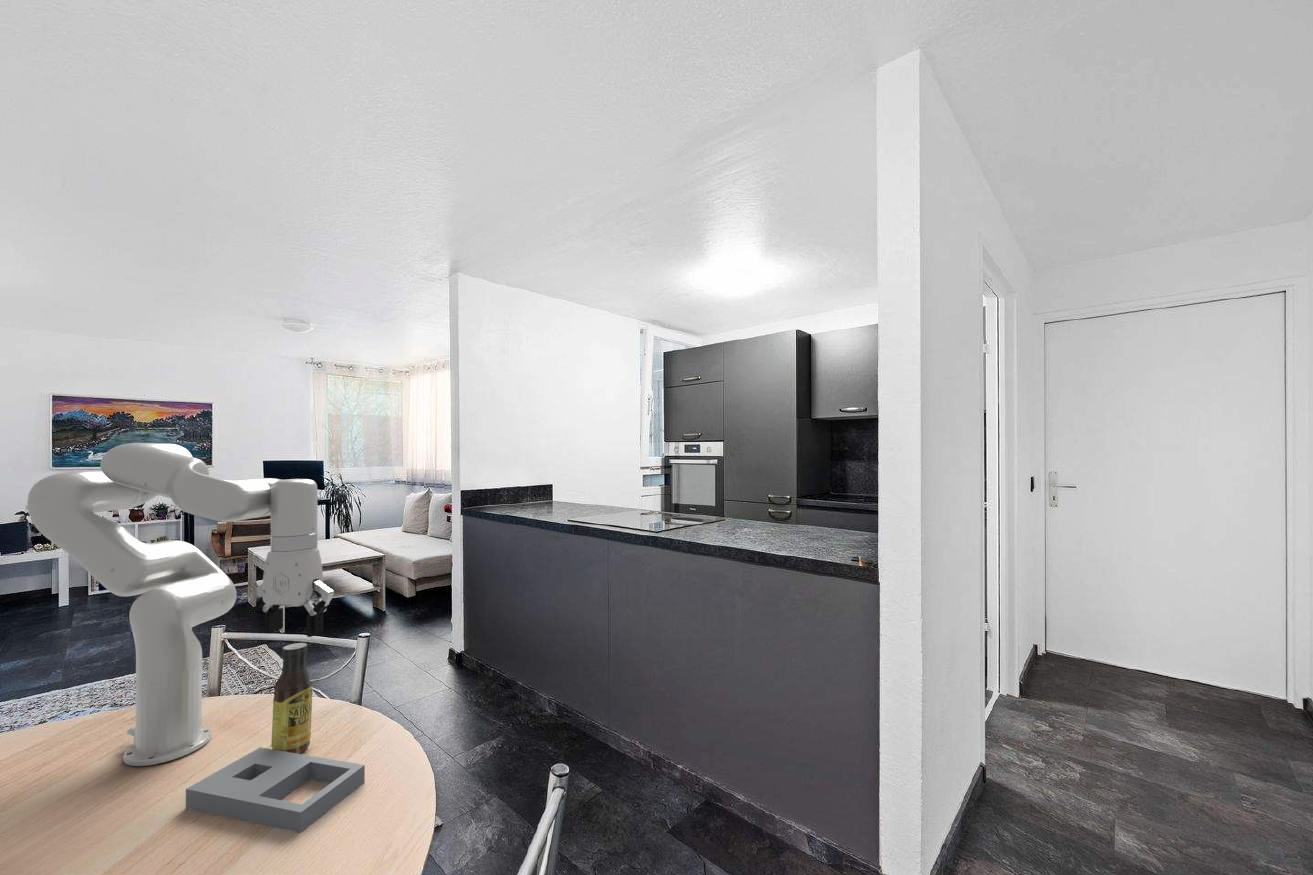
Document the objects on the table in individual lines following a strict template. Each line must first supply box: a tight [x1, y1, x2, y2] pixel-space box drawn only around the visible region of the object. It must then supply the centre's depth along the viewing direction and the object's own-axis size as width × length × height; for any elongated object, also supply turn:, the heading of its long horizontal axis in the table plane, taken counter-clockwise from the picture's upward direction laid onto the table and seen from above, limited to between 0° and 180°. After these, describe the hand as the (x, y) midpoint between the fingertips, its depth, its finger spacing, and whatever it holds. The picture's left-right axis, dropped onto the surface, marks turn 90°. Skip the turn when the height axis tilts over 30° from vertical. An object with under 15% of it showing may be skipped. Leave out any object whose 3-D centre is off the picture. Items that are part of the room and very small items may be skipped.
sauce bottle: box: [270, 642, 313, 754], centre depth 103 cm, size 7×6×20 cm
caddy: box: [185, 746, 366, 833], centre depth 90 cm, size 23×12×3 cm, turn 76°
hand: (294, 632), depth 104 cm, fingers open, 9 cm apart
